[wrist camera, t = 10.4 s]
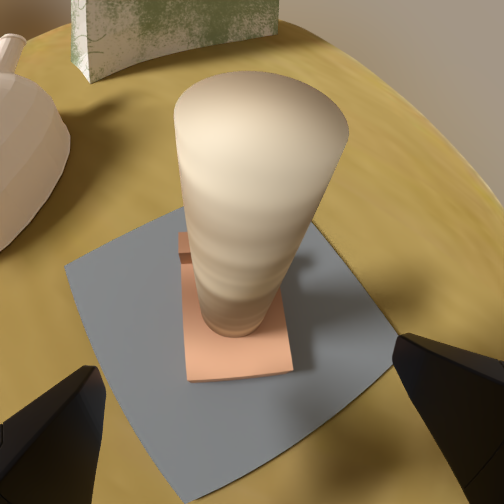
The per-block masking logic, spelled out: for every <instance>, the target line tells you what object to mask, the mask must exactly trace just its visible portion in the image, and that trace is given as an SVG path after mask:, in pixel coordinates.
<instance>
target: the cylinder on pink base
mask: <svg viewBox="0 0 504 504" xmlns="http://www.w3.org/2000/svg"><path fill="white" fill-rule="evenodd" d="M174 123H175V134H176V144H177V154H178V163H179V172H180V180H181V188H182V196H183V204H184V211H185V218H186V225H187V232H178V253H179V258H180V262H181V285H182V312H183V331H184V347H185V361H186V373H187V381H189V382H190V383H202V382H217V381H229V380H240V379H249V378H258V377H267V376H274V375H282V374H286V373H288V372H290V371H293V364H292V358H291V351H290V345H289V339H288V332H287V326H286V320H285V314H284V308H283V302H282V296H281V290H280V285H281V283H282V281H283V279H284V277H285V275H286V273H287V271H288V269H289V267H290V265H291V263H292V260H293V258H294V256H295V254H296V252H297V250H298V248H299V246H300V244H301V242H302V240H303V238H304V236H305V233H306V231H307V229H308V227H309V225H310V223H311V221H312V219H313V216H314V214H315V212H316V210H317V208H318V206H319V204H320V201H321V199H322V197H323V195H324V193H325V190H326V188H327V186H328V184H329V182H330V179H331V177H332V175H333V173H334V170H335V168H336V166H337V164H338V161H339V159H340V157H341V155H342V152H343V150H344V148H345V145H346V143H347V141H348V136H349V128H348V124H347V121H346V119H345V117H344V115H343V113H342V112H341V110H340V109H339V108H338V106H337V105H336V104H335V103H334V102H333V101H332V100H331V99H329V98H328V97H327V96H326V95H324V94H323V93H322V92H320V91H318V90H317V89H315V88H313V87H311V86H309V85H308V84H305V83H303V82H301V81H298V80H295V79H293V78H290V77H286V76H282V75H278V74H273V73H267V72H257V71H239V72H229V73H223V74H219V75H215V76H212V77H208V78H206V79H204V80H201V81H199V82H197V83H195V84H194V85H192V86H191V87H189V88H188V89H187V90H186V91H185V92H184V93H183V94H182V95H181V96H180V98H179V99H178V101H177V103H176V105H175V109H174Z"/></svg>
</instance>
